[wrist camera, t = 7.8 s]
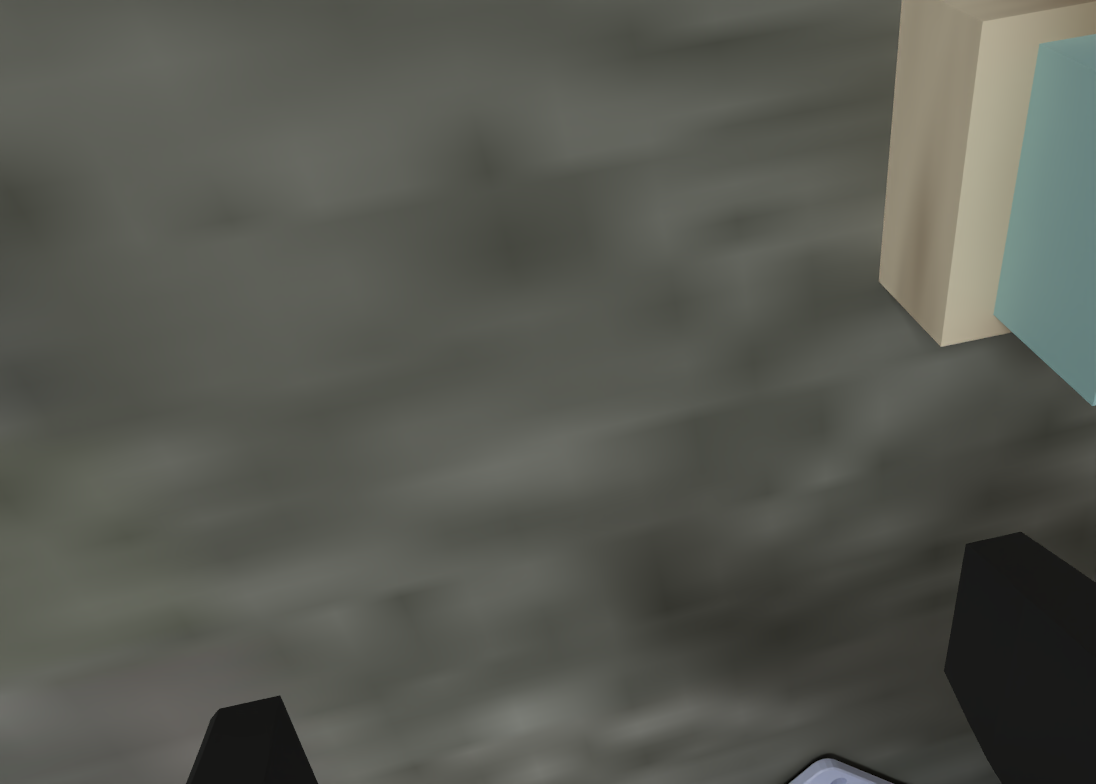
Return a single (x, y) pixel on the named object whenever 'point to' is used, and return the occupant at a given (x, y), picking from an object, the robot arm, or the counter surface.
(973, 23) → the beech block
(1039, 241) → the teal block
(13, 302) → the counter surface
